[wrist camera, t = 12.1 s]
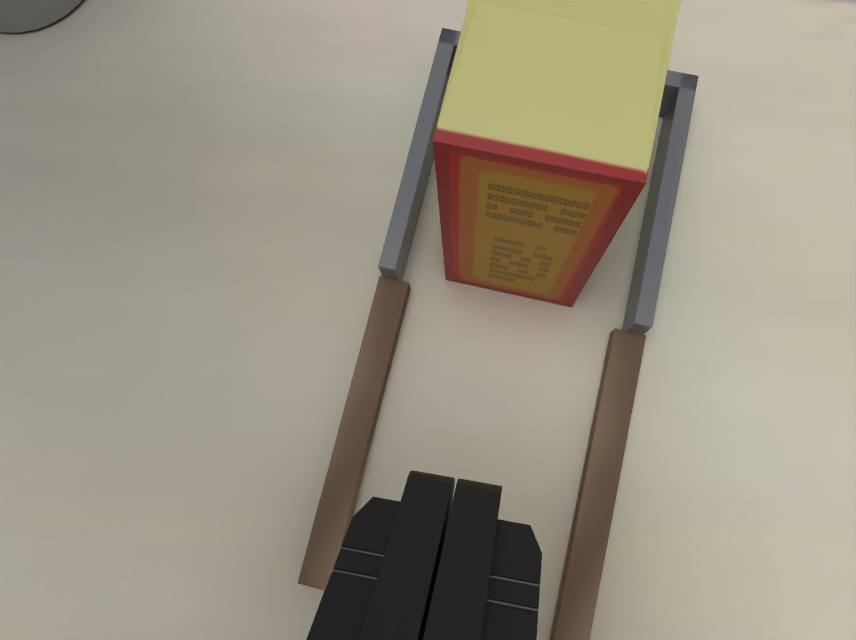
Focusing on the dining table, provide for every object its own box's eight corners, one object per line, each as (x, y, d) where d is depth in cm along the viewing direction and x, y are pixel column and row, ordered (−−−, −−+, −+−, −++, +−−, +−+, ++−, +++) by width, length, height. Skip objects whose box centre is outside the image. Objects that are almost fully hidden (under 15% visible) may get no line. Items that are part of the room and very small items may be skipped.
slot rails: (303, 579, 35) (297, 583, 34) (382, 282, 38) (379, 275, 37) (581, 654, 33) (585, 660, 32) (640, 340, 37) (645, 335, 35)
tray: (385, 283, 38) (378, 266, 35) (443, 61, 40) (442, 28, 37) (637, 339, 37) (652, 326, 34) (680, 106, 39) (698, 76, 36)
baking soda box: (486, 114, 40) (500, -126, 24) (606, 138, 39) (700, -94, 23) (445, 279, 38) (432, 135, 22) (571, 307, 37) (648, 178, 21)
